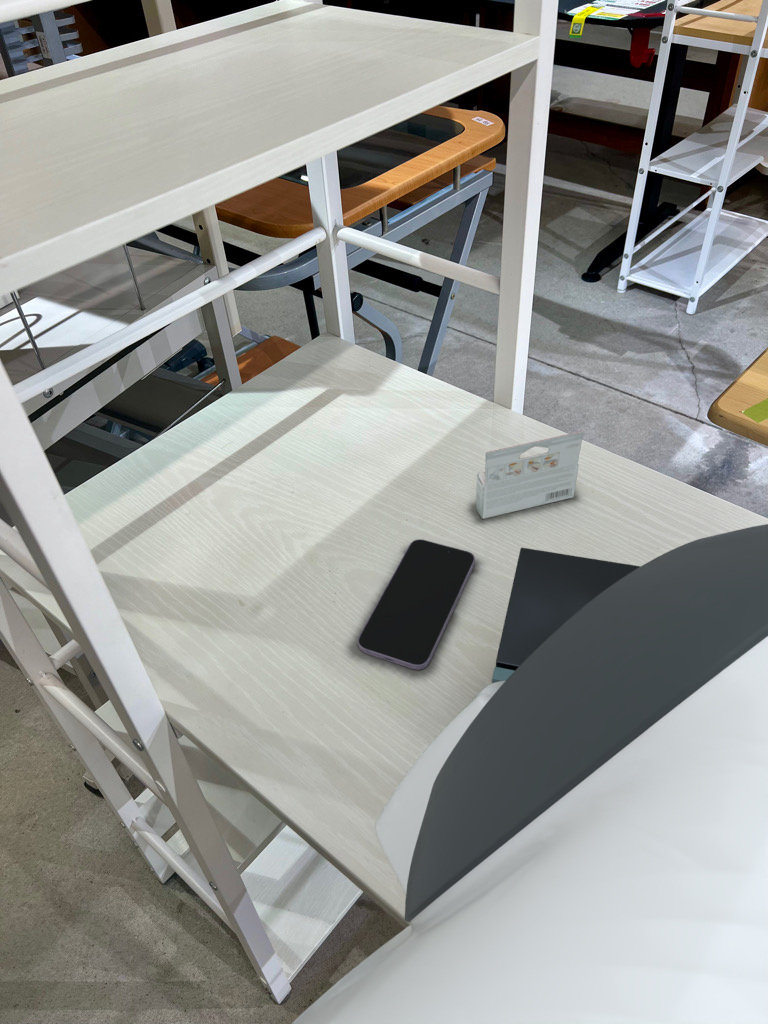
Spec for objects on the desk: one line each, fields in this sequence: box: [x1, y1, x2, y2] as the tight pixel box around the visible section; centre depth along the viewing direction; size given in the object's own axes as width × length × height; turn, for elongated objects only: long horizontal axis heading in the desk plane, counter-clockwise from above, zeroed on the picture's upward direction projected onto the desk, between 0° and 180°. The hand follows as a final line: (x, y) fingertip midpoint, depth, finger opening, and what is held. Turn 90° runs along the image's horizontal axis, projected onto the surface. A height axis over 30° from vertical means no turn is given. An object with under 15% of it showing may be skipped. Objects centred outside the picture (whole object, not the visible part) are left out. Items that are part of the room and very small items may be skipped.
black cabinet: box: [495, 547, 642, 671], centre depth 57 cm, size 11×16×16 cm
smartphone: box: [357, 538, 476, 671], centre depth 74 cm, size 7×1×15 cm
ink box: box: [475, 430, 584, 519], centre depth 81 cm, size 2×11×10 cm, turn 105°
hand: (698, 862), depth 33 cm, fingers open, 8 cm apart
